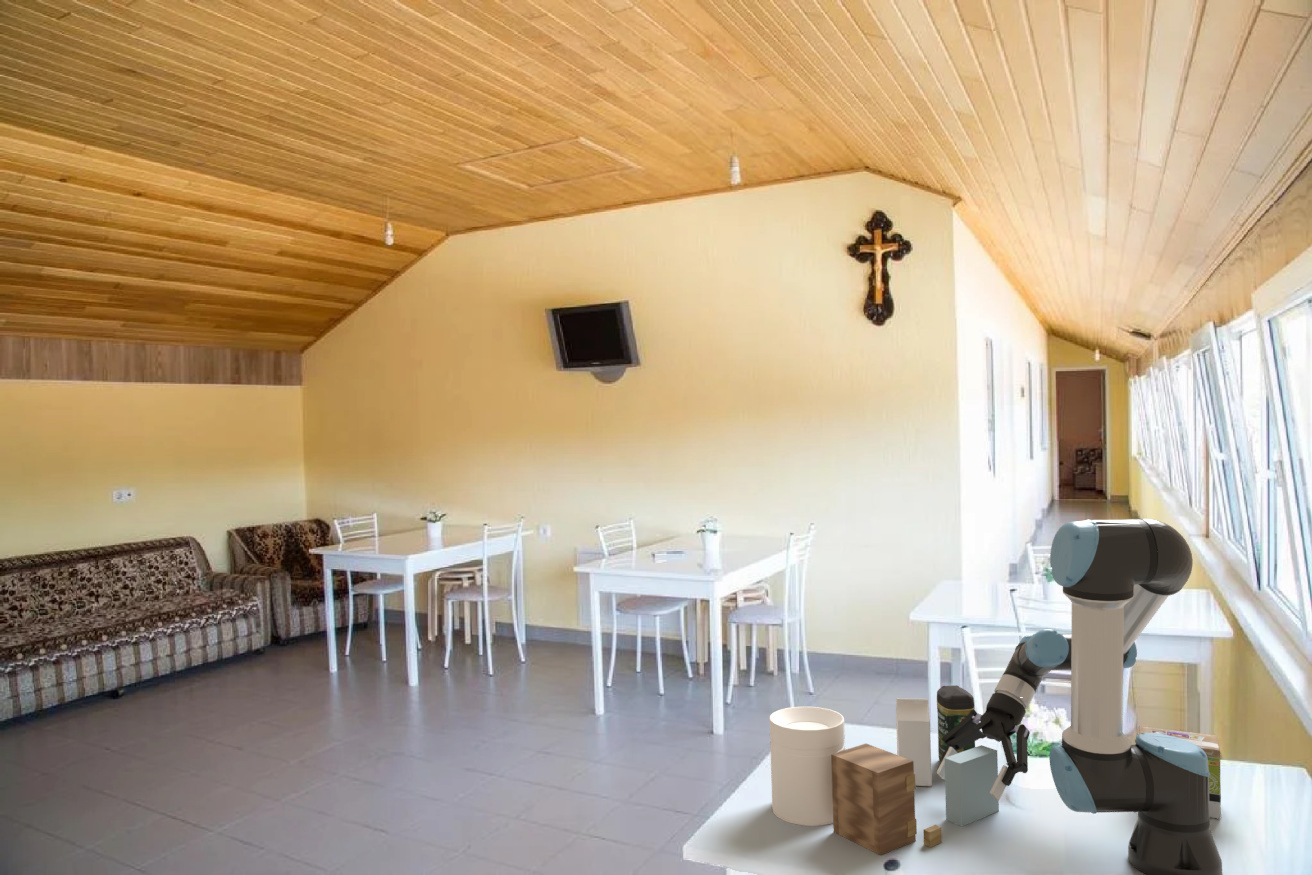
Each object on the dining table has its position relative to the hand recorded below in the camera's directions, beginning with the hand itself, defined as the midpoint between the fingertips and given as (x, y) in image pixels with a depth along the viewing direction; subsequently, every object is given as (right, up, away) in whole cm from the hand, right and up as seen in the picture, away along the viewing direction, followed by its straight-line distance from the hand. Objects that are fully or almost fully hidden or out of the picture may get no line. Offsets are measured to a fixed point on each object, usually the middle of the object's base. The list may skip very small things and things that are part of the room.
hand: (966, 786), depth 194 cm
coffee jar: (+7, -6, +28) cm, 30 cm away
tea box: (+46, -5, +2) cm, 46 cm away
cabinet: (-19, -7, -8) cm, 22 cm away
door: (+1, -6, 0) cm, 6 cm away
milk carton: (-5, -6, +20) cm, 21 cm away
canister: (-32, -7, +6) cm, 33 cm away
